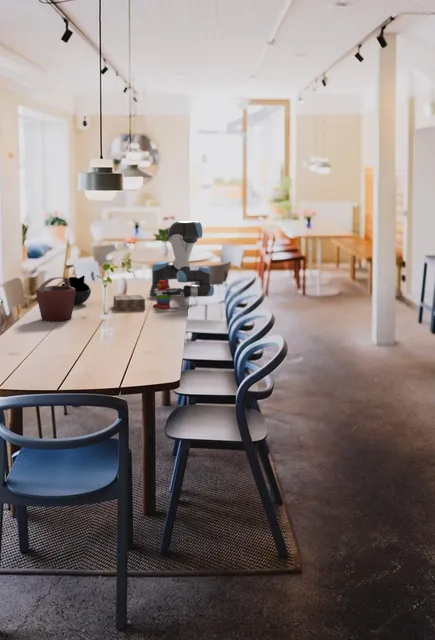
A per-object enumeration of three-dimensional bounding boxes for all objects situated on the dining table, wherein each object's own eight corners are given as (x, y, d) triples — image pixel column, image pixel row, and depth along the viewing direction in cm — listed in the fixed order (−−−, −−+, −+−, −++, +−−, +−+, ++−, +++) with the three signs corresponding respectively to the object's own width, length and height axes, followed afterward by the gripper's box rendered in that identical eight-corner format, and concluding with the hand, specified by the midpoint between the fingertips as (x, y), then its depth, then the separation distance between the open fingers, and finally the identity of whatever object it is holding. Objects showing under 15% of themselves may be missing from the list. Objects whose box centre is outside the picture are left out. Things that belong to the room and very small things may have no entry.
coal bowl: (63, 307, 508) (62, 278, 505) (58, 303, 527) (57, 275, 523) (94, 306, 516) (93, 277, 512) (87, 301, 534) (87, 273, 530)
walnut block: (141, 305, 519) (141, 294, 518) (145, 310, 502) (144, 299, 501) (113, 306, 515) (113, 295, 514) (116, 311, 498) (116, 300, 497)
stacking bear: (151, 307, 514) (151, 279, 510) (162, 305, 521) (162, 278, 518) (162, 309, 506) (162, 281, 503) (174, 307, 514) (174, 280, 510)
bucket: (64, 314, 484) (63, 274, 480) (85, 319, 469) (84, 277, 464) (29, 319, 468) (27, 277, 463) (49, 324, 452) (47, 281, 447)
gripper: (193, 299, 507) (158, 300, 501) (186, 294, 527) (153, 295, 522) (193, 287, 505) (158, 288, 500) (186, 283, 526) (153, 284, 521)
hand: (155, 292), depth 511 cm, fingers closed on stacking bear, 9 cm apart
